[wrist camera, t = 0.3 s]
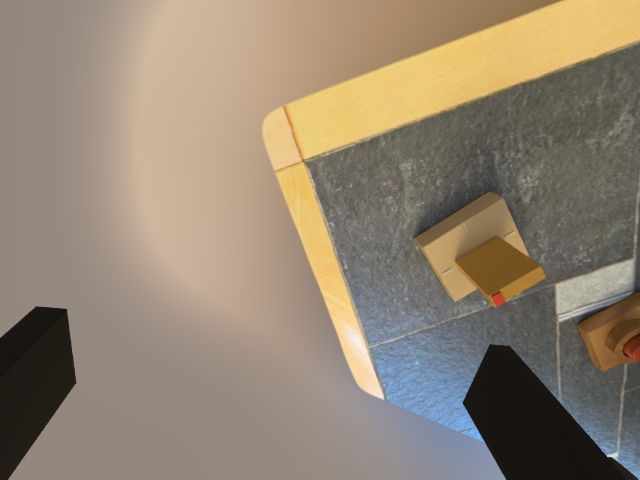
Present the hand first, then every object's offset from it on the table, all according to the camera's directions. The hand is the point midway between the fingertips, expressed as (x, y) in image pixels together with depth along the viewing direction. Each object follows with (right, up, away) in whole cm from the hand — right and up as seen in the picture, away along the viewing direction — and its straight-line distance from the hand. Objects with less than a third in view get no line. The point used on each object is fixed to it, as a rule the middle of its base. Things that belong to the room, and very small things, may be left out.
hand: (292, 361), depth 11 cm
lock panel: (+21, +3, +35) cm, 41 cm away
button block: (+48, -10, +44) cm, 66 cm away
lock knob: (+21, +2, +32) cm, 38 cm away
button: (+48, -12, +41) cm, 64 cm away
